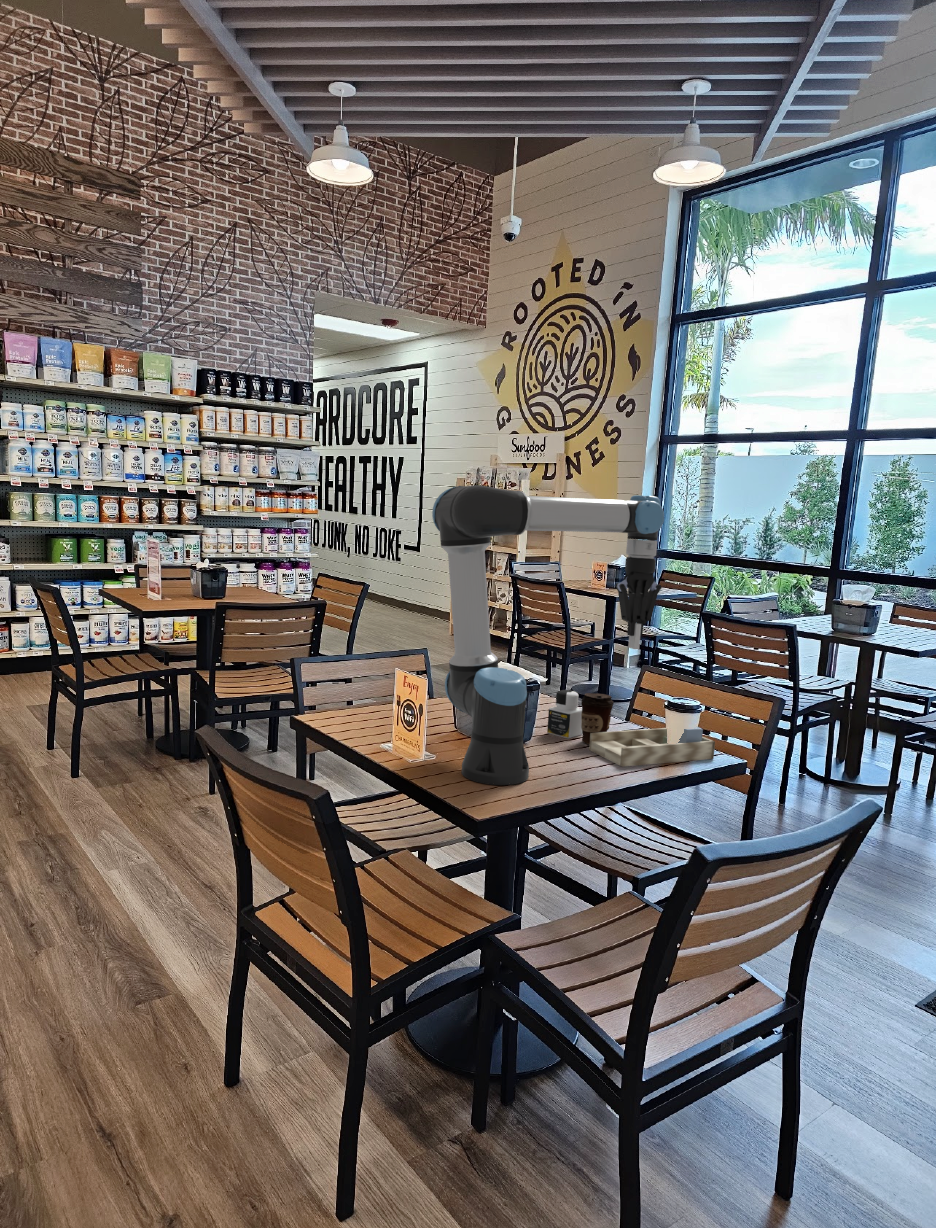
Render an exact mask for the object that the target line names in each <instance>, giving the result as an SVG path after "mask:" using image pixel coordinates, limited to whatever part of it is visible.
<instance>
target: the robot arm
mask: <svg viewBox="0 0 936 1228" xmlns="http://www.w3.org/2000/svg"><path fill="white" fill-rule="evenodd" d="M431 514H432V521H433V524H434V526H435V528H436V529H437V531H438V532H439V538H440V548H442V550H444V551H445V552H446V554H447V557H448V558H447V559H448V573H449V586H450V587H449V588H450V599H451V600H450V603H451V616H452V629H453V630H452V631H453V644H454V654H453V656H451V658H450V659H449V661H448V663H449V671H448V672H447V674H446V675H445V676H446V677H445V679H444V691H445V695H446V697H447V698H448V700H449V702H450V703H451V704H452V705H453V706H454V708H456V709H458V710H459V711H460V712H462V713H465V714H466V715H468V716H469V717H470V718H472V722H471V724H472V725H471V738H470V741H469V744H468V747H467V749H466V753H465V755H464V757H463V760H462V763H461V775H462V777H464V778H466V779H467V780H469V781H473V782H474V783H475V782H476V783H480V784H485V785H492V786H493V785H495V786H511V785H517V784H521V783H524V782H526V781H527V780H528V779H529V775H530V766H529V761H528V758H527V753H526V750H525V746H524V731H525V719H526V718H525V717H526V704H527V697H528V690H527V680H526V679H525V677H524V676H523V675H522V674H521V673H519V672H517V671H515V670H513V669H512V670H511V669H507V668H504V667H499V658H498V656H496V654H495V653H493V652H492V649H491V648H492V647H491V634H490V633H491V632H490V631H491V630H490V616H489V601H488V600H489V599H488V597H489V596H488V583H487V569H486V568H487V567H486V554H485V551H486V550H487V549H488V548H489V547H490V545H491V544H492V543H491V542H492V541H491V537H498V536H499V537H500V536H520V535H523V534H524V532H525V531H527V532H528V531H531V532H535V531H537V532H538V531H539V532H542V531H543V532H573V533H574V532H576V533H578V532H579V533H580V532H584V533H585V532H586V533H623V534H627V539H626V540H627V541H626V549H625V550H626V551H625V554H626V555H627V557H626V558H625V565H624V571H625V575H624V577H623V580H622V581H621V582H616V583H615V585H614V586H615V588H616V590H617V593H618V594H617V595H618V602H619V608H620V610H619V611H620V615H621V616H620V617H621V620H623V621H625V622H626V623H627V631H626V632H627V633H626V634H627V636H628V647H627V648H629V649H633V650H640V644H641V637H642V636H643V635H644V634H643V633H644V632H643V631H644V625H646V624H647V622H650V621H651V619H652V616H653V612H654V608H655V606H656V602H657V598H658V594H659V593H660V591H661V589H662V585H661V584H658V583H657V582H655V577H654V573H656V564H657V563H656V562H657V561H656V558H655V557H656V556H657V552H658V551H657V549H658V548H657V547H658V537H659V536H658V535H659V530H660V529H662V527H663V524H664V522H665V512H664V508H663V506H661V500H660V498H659V497H658V496H653V495H632V496H631V497H630V499H629V500H628V499H627V500H626V499H625V500H623V499H607V498H605V499H604V498H587V497H586V498H585V497H584V498H583V497H582V498H581V497H559V496H558V497H557V496H540V495H539V496H538V495H537V496H536V495H527V494H526V493H525V492H524V491H522V490H512V489H502V488H498V487H492V486H485V485H458V486H453V487H451V488H448V489H446V490H444V491H442V492H441V494H439V496H438V497H437V498H436V499H435V502H434V503H433V507H432V512H431Z"/></svg>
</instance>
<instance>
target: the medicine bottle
mask: <svg viewBox="0 0 936 1228" xmlns="http://www.w3.org/2000/svg"><path fill="white" fill-rule="evenodd" d="M578 706H579V693H578V692H576V691H574V690H569V689H568V690H567V689H561V690H558V691H556V695H555V706H552V707H549V708H548V712H547V714H548V715H547V716H548V717H547V728H546V729H547V732H546V733H547V734H548V735H553V736H557V737H561V738H565V739H570V738H575V737H578V736H583V734H582V728H581V723H582V720H581V714H582V708H579V707H578Z"/></svg>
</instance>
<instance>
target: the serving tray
mask: <svg viewBox="0 0 936 1228" xmlns="http://www.w3.org/2000/svg"><path fill="white" fill-rule="evenodd" d="M666 728H667V727H662V728H661V727H658V728H646V729H645V728H644V729H631V730H615V731H607V732H597V733H590V744H589V746H588V747H589V748H588V750H589V751H590V752H592V753H594V754H597V755H598V756H600V757H602V758H604V759H605V760H608V761H610V762H611V763H613V764H616V765H618V766H620V767H622V768H623V767H635V766H645V765H646V766H647V765H656V764H657V765H658V764H659V765H660V764H668V763H669V764H670V763H680V762H691V761H703V760H713V759H715V746H716V741H715V740H713V739H710V738H707V737H706V736H702V742H689V743H676V744H668V743H667V729H666Z"/></svg>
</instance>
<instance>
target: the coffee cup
mask: <svg viewBox="0 0 936 1228" xmlns="http://www.w3.org/2000/svg"><path fill="white" fill-rule="evenodd" d="M612 698H613V697H612V696H611V695H610V694H605V693H592V692H591V693H590V692H587V693H584V694H583V697H582V698H581V709H582V714H581V720H582V723H581V728H582V738H581V742H582V743H584V744H587V745H590V733H597V732H608V730H609V729H610V723H611V719H612V718H611V715H612V710H613V706H614V701H613V700H612Z"/></svg>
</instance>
